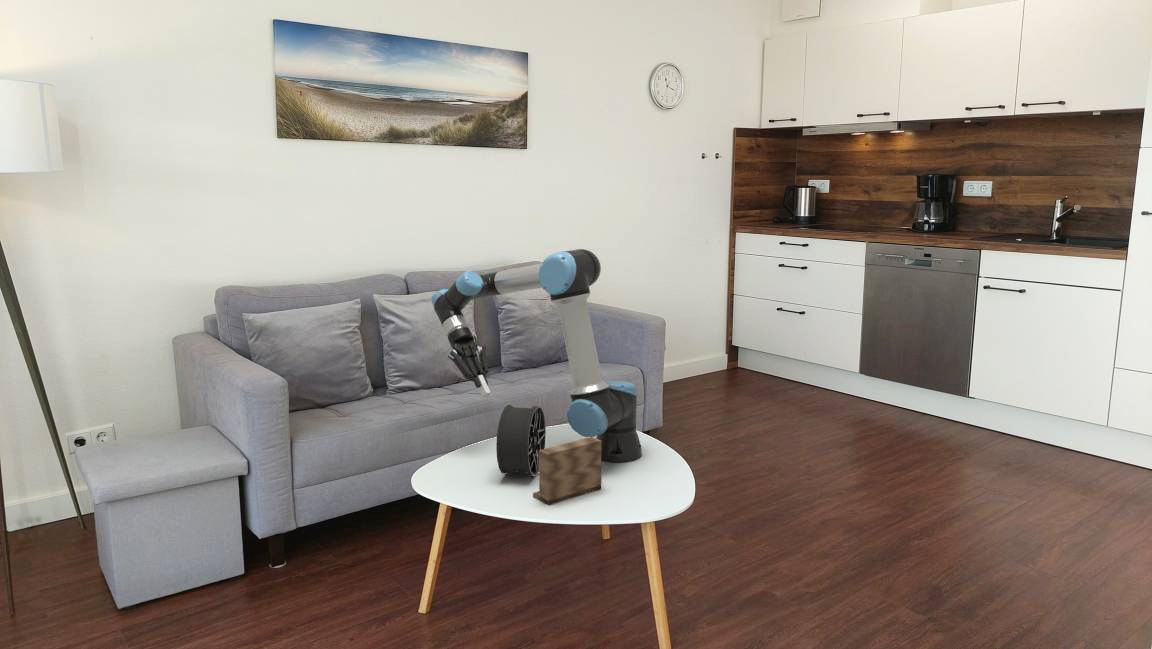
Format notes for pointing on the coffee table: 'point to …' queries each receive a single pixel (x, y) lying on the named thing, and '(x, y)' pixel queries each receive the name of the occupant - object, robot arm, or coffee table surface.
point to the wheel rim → (520, 439)
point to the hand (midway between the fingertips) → (486, 395)
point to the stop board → (569, 470)
